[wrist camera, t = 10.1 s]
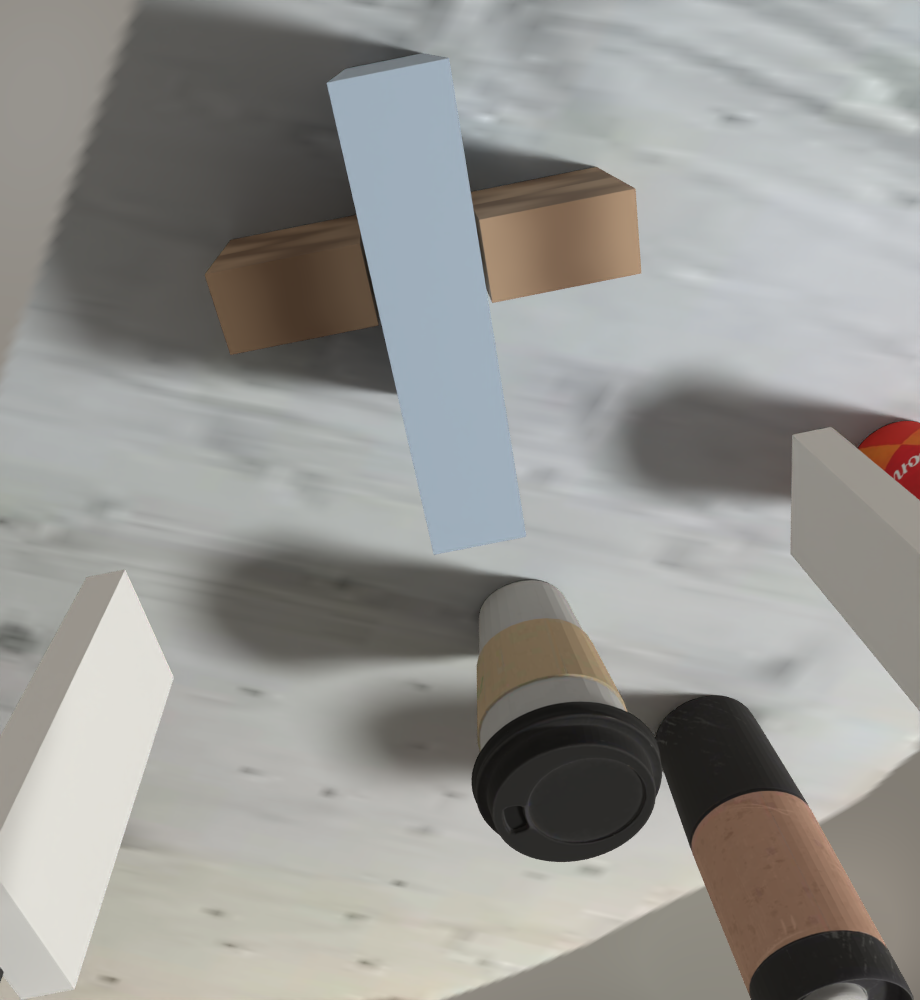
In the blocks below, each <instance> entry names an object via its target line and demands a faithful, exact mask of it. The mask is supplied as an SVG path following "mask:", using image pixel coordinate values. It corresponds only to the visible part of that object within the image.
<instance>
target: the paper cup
mask: <svg viewBox="0 0 920 1000" xmlns="http://www.w3.org/2000/svg"><path fill="white" fill-rule="evenodd" d="M857 449H859V450H860V451H861V452H862V453H863V454H865V455H866V456H867V457H868V458H869V459H871V460H872V461H873V462H874V463H875V464H877V465H878V466H879V467H880V468H881V469H883V470H884V471H885V472H886V473H887V474H889V475H890V476H891V477H892V478H893V479H895V480H896V481H897V482H898V483H899V484H901V485H902V486H903V487H904V488H905V489H907V490H908V491H909V492H910V493H911V494H913V495H914V496H915V497H916V498H917V499H919V500H920V423H919V422H914V421H900V422H895V423H891V424H888V425H886V426H884V427H881V428H880V429H878V430H876V431H875V432H873V433H872V434H871V435H869V436H868V437H867V438H866V439H865V440H864V441H863V442H862V443H861V444H860V446H859V447H858V448H857Z"/></svg>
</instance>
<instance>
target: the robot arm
mask: <svg viewBox="0 0 920 1000" xmlns="http://www.w3.org/2000/svg"><path fill="white" fill-rule="evenodd" d="M791 555H792V556H793V557H794V558H795V560H796V561H797V562H798V563H799V564H800V566H801V567H802V568H803V569H804V571H805V572H806V573H807V574H808V575H809V577H810V578H811V579H812V580H813V582H814V583H815V584H816V585H817V586H818V588H819V589H820V590H821V591H822V592H823V594H824V595H825V596H826V597H827V599H828V600H829V601H830V602H831V603H832V605H833V606H834V607H835V608H836V610H837V611H838V612H839V613H840V614H841V616H842V617H843V618H844V619H845V621H846V622H847V623H848V624H849V625H850V627H851V628H852V629H853V630H854V632H855V633H856V634H857V635H858V636H859V638H860V639H861V640H862V641H863V642H864V644H865V645H866V646H867V647H868V649H869V650H870V651H871V652H872V653H873V655H874V656H875V657H876V658H877V660H878V661H879V662H880V663H881V664H882V666H883V667H884V668H885V669H886V671H887V672H888V673H889V674H890V675H891V677H892V678H893V679H894V680H895V681H896V683H897V684H898V685H899V686H900V688H901V689H902V690H903V691H904V692H905V694H906V695H907V696H908V697H909V699H910V700H911V701H912V702H913V703H914V705H915V706H916V707H917V708H918V710H919V711H920V500H919V499H917V498H916V497H915V496H914V495H913V494H911V493H910V492H909V491H908V490H907V489H905V488H904V487H903V486H902V485H901V484H899V483H898V482H897V481H896V480H895V479H893V478H892V477H891V476H890V475H889V474H887V473H886V472H885V471H884V470H883V469H881V468H880V467H879V466H878V465H877V464H875V463H874V462H873V461H872V460H871V459H869V458H868V457H867V456H866V455H865V454H863V453H862V452H861V451H860V450H859V449H857V448H856V447H855V446H854V445H853V444H851V443H850V442H849V441H848V440H847V439H845V438H844V437H843V436H842V435H841V434H839V433H838V432H837V431H836V430H835V429H833V428H832V427H828V428H823V429H818V430H813V431H808V432H803V433H798V434H794V435H792V486H791ZM173 678H174V677H173V675H172V672H171V670H170V668H169V666H168V664H167V661H166V659H165V657H164V655H163V652H162V650H161V648H160V646H159V644H158V641H157V639H156V637H155V635H154V632H153V630H152V628H151V626H150V624H149V621H148V619H147V617H146V615H145V612H144V610H143V608H142V606H141V604H140V601H139V599H138V597H137V595H136V592H135V590H134V588H133V586H132V584H131V581H130V579H129V577H128V575H127V572H126V570H121V571H116V572H111V573H106V574H101V575H96V576H91V577H86V579H85V581H84V583H83V585H82V587H81V588H80V590H79V592H78V594H77V596H76V598H75V599H74V601H73V603H72V605H71V607H70V609H69V611H68V612H67V614H66V616H65V618H64V620H63V622H62V623H61V625H60V627H59V629H58V631H57V633H56V634H55V636H54V638H53V640H52V642H51V644H50V646H49V647H48V649H47V651H46V653H45V655H44V657H43V658H42V660H41V662H40V664H39V666H38V668H37V669H36V671H35V673H34V675H33V677H32V679H31V681H30V682H29V684H28V686H27V688H26V690H25V692H24V693H23V695H22V697H21V699H20V701H19V703H18V704H17V706H16V708H15V710H14V712H13V714H12V716H11V717H10V719H9V721H8V723H7V725H6V727H5V728H4V730H3V732H2V734H1V736H0V981H1V978H2V976H4V978H5V979H6V980H7V982H8V983H9V984H10V986H11V987H12V988H13V990H14V991H15V992H16V994H17V995H18V996H19V998H20V999H21V1000H23V999H28V998H33V997H38V996H43V995H48V994H53V993H58V992H63V991H68V990H73V989H75V986H76V983H77V980H78V977H79V973H80V970H81V967H82V964H83V961H84V958H85V955H86V951H87V948H88V945H89V942H90V939H91V936H92V933H93V929H94V926H95V923H96V920H97V917H98V914H99V911H100V907H101V904H102V901H103V898H104V895H105V892H106V889H107V886H108V882H109V879H110V876H111V873H112V870H113V867H114V864H115V860H116V857H117V854H118V851H119V848H120V845H121V842H122V838H123V835H124V832H125V829H126V826H127V823H128V820H129V816H130V813H131V810H132V807H133V804H134V801H135V798H136V794H137V791H138V788H139V785H140V782H141V779H142V776H143V773H144V769H145V766H146V763H147V760H148V757H149V754H150V751H151V747H152V744H153V741H154V738H155V735H156V732H157V729H158V725H159V722H160V719H161V716H162V713H163V710H164V707H165V703H166V700H167V697H168V694H169V691H170V688H171V685H172V681H173Z"/></svg>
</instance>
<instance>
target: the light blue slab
mask: <svg viewBox="0 0 920 1000" xmlns="http://www.w3.org/2000/svg"><path fill="white" fill-rule="evenodd" d="M327 87H328V91H329V95H330V100H331V104H332V109H333V113H334V117H335V122H336V126H337V131H338V135H339V139H340V144H341V148H342V153H343V157H344V161H345V166H346V170H347V175H348V179H349V183H350V188H351V192H352V197H353V201H354V205H355V210H356V214H357V219H358V223H359V227H360V232H361V236H362V241H363V245H364V249H365V254H366V258H367V263H368V267H369V271H370V276H371V280H372V285H373V289H374V293H375V298H376V302H377V307H378V311H379V315H380V320H381V324H382V329H383V333H384V337H385V342H386V346H387V351H388V355H389V359H390V364H391V368H392V373H393V377H394V381H395V386H396V390H397V395H398V399H399V403H400V408H401V412H402V417H403V421H404V425H405V430H406V434H407V439H408V443H409V447H410V452H411V456H412V461H413V465H414V469H415V474H416V478H417V483H418V487H419V491H420V496H421V500H422V505H423V509H424V513H425V518H426V522H427V527H428V531H429V535H430V540H431V544H432V549H433V553H434V555H435V554H440V553H445V552H450V551H455V550H461V549H466V548H471V547H476V546H481V545H486V544H491V543H496V542H501V541H506V540H512V539H517V538H522V537H526V532H525V526H524V520H523V514H522V507H521V501H520V495H519V489H518V483H517V476H516V470H515V464H514V458H513V452H512V445H511V439H510V433H509V427H508V421H507V414H506V408H505V402H504V396H503V390H502V384H501V377H500V371H499V365H498V359H497V353H496V346H495V340H494V334H493V328H492V322H491V315H490V309H489V303H488V297H487V291H486V284H485V278H484V272H483V266H482V260H481V253H480V247H479V241H478V235H477V229H476V222H475V216H474V210H473V204H472V198H471V191H470V185H469V179H468V173H467V167H466V160H465V154H464V148H463V142H462V136H461V129H460V123H459V117H458V111H457V105H456V98H455V92H454V86H453V80H452V74H451V67H450V61H449V58H445V57H440V56H435V55H429V54H424V53H421V54H416V55H411V56H406V57H401V58H396V59H391V60H386V61H381V62H376V63H371V64H366V65H361V66H356V67H351V68H346V69H345V70H343V71H342V72H341V73H339V74H338V75H336V76H335V77H334V78H332V79H331V80H330V81H328V82H327Z"/></svg>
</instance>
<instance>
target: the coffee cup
mask: <svg viewBox="0 0 920 1000" xmlns="http://www.w3.org/2000/svg"><path fill="white" fill-rule="evenodd" d="M477 734H478V746H479V750H480V753H479V755H478V757H477V759H476V762H475V764H474V768H473V772H472V791H473V795H474V798H475V800H476V803H477V805H478V808H479V811H480V813H481V815H482V817H483V818H484V820H485V821H486V823H487V824H488V825H489V826H490V827H491V828H492V829H493V830H494V831H495V832H496V833H498V834H499V835H500V836H501V837H502V839H503V840H504V841H505V842H506V843H507V844H508V845H509V846H510V847H512V848H513V849H515V850H516V851H518V852H520V853H522V854H524V855H526V856H529V857H532V858H535V859H539V860H544V861H552V862H571V861H579V860H585V859H589V858H593V857H596V856H599V855H602V854H605V853H607V852H609V851H612V850H613V849H615V848H617V847H619V846H621V845H622V844H624V843H625V842H627V841H628V840H629V839H631V838H632V837H633V836H634V835H635V834H636V833H638V832H639V830H640V829H641V828H642V827H643V826H644V825H645V823H646V822H647V820H648V819H649V817H650V815H651V813H652V810H653V808H654V804H655V798H656V796H657V793H658V791H659V788H660V784H661V779H662V764H661V758H660V751H659V746H658V744H657V741H656V739H655V737H654V735H653V734H652V732H651V731H650V729H649V728H648V727H647V726H646V725H645V724H644V723H643V722H642V721H641V720H639V719H638V718H637V717H635V716H634V715H632V714H630V713H629V712H628V711H627V709H626V706H625V704H624V701H623V699H622V697H621V696H620V694H619V692H618V690H617V688H616V686H615V684H614V682H613V681H612V679H611V677H610V675H609V673H608V671H607V669H606V667H605V666H604V664H603V662H602V660H601V658H600V656H599V654H598V652H597V651H596V649H595V647H594V645H593V643H592V642H591V640H590V639H589V637H588V636H587V634H586V633H585V632H584V631H583V630H582V628H581V626H580V624H579V622H578V620H577V619H576V617H575V615H574V613H573V611H572V609H571V607H570V606H569V604H568V602H567V600H566V599H565V597H564V596H563V594H562V593H561V592H560V591H559V590H558V589H557V588H556V587H554V586H553V585H551V584H549V583H546V582H543V581H536V580H526V581H519V582H514V583H511V584H509V585H506V586H504V587H502V588H500V589H498V590H496V591H495V592H494V593H492V594H491V595H490V596H489V597H488V598H487V599H486V600H485V602H484V603H483V605H482V607H481V610H480V614H479V658H478V663H477Z"/></svg>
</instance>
